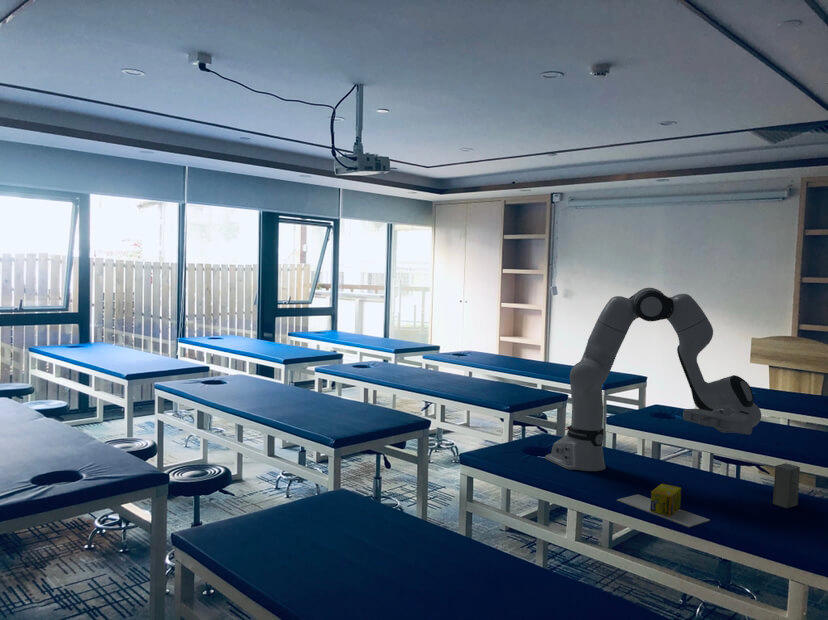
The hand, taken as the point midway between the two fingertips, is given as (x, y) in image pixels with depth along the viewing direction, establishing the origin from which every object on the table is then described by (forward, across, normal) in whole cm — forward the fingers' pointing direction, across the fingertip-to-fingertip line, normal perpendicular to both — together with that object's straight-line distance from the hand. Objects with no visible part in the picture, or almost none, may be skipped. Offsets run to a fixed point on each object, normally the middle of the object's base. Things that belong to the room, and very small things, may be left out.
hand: (701, 422), depth 196 cm
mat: (+22, +3, +24) cm, 32 cm away
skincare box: (-18, +18, +23) cm, 35 cm away
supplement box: (+15, +1, +20) cm, 25 cm away
